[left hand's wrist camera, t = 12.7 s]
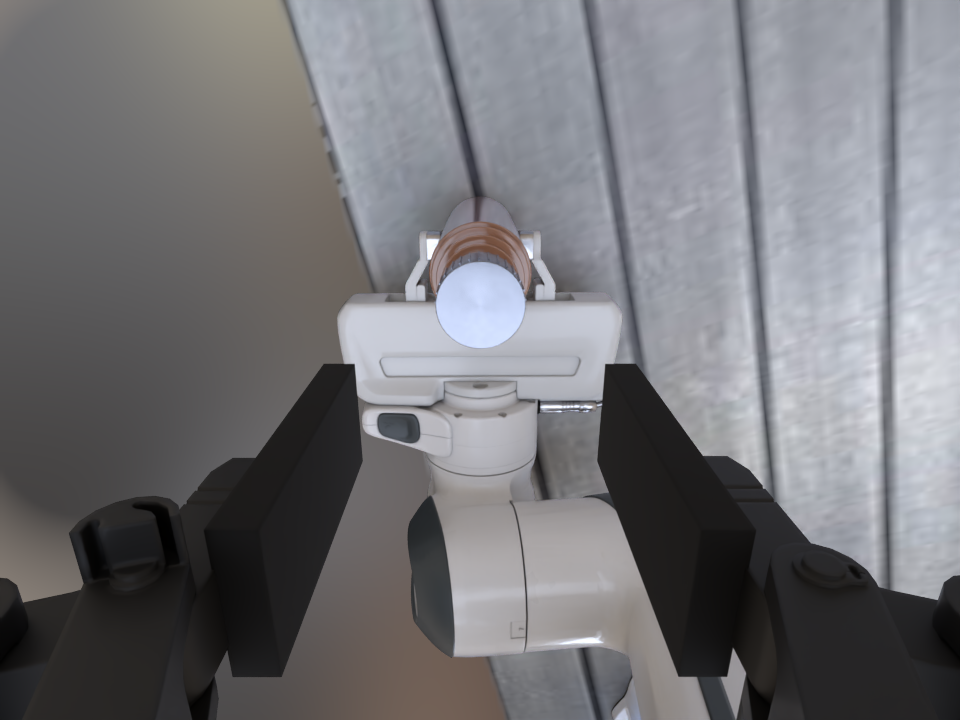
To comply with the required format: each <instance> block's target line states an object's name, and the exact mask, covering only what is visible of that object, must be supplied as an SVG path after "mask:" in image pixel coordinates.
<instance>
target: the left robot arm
mask: <svg viewBox="0 0 960 720" xmlns="http://www.w3.org/2000/svg"><path fill="white" fill-rule="evenodd" d="M362 461H363V460H362V447H361V435H360V422H359V410H358V397H357V385H356V372H355V364H324V365H323V366H322V367H321V369H320V370H319V371H318V373H317V374H316V376H315V377H314V378H313V380H312V381H311V382H310V384H309V385H308V387H307V388H306V389H305V391H304V392H303V394H302V395H301V396H300V398H299V399H298V401H297V402H296V403H295V405H294V406H293V407H292V409H291V410H290V412H289V413H288V414H287V416H286V417H285V418H284V420H283V421H282V423H281V424H280V425H279V427H278V428H277V429H276V431H275V432H274V434H273V435H272V436H271V438H270V439H269V440H268V442H267V443H266V445H265V446H264V447H263V449H262V450H261V452H260V453H259V454H258V456H257V457H256V458H232V459H231V460H229V461H227V462H226V463H224V464H223V465H221V466H220V467H218V468H216V469H215V470H213V471H211V472H210V474H209V475H208V476H207V477H206V479H205V480H204V481H203V482H202V483H201V485H200V486H199V487H198V491H195V492H194V493H193V494H192V495H191V497H190V498H189V499H188V500H187V504H184V505H183V506H182V507H181V509H180V510H179V507H178V505H177V504H176V503H175V502H173V501H172V500H171V499H168V498H163V497H157V496H148V497H135V498H131V499H127V500H123V501H119V502H115V503H113V504H110V505H108V506H106V507H103V508H101V509H98V510H96V511H94V512H93V513H91V514H90V515H88V516H87V517H85V518H84V519H82V520H81V521H79V522H78V523H77V525H76V526H75V527H74V528H73V529H72V530H71V531H70V532H69V535H70V538H71V542H72V545H73V549H74V552H75V555H76V559H77V562H78V566H79V569H80V572H81V576H82V579H83V583H84V584H83V586H82V588H81V590H78V591H75V592H72V593H66V594H62V595H57V596H52V597H48V598H43V599H38V600H33V601H29V602H24V603H23V602H22V599H21V596H20V593H19V590H18V587H17V585H16V584H14V583H13V582H12V581H10V580H9V579H7V578H0V720H216V717H217V708H218V699H219V698H218V692H217V685H216V680H215V676H214V675H215V673H216V671H217V669H218V667H219V665H220V663H221V661H222V659H223V657H224V655H225V653H226V651H228V656H229V661H230V665H231V671H232V676H233V677H282V674H283V672H284V669H285V666H286V664H287V661H288V658H289V656H290V653H291V650H292V648H293V645H294V642H295V640H296V637H297V634H298V632H299V629H300V626H301V624H302V621H303V618H304V616H305V613H306V610H307V608H308V605H309V603H310V600H311V597H312V595H313V592H314V589H315V587H316V584H317V581H318V579H319V576H320V573H321V570H322V568H323V565H324V563H325V560H326V557H327V555H328V552H329V549H330V547H331V544H332V541H333V539H334V536H335V533H336V531H337V528H338V525H339V523H340V520H341V517H342V515H343V512H344V509H345V507H346V504H347V501H348V499H349V496H350V493H351V491H352V488H353V485H354V483H355V480H356V477H357V475H358V472H359V469H360V467H361V464H362ZM597 461H598V464H599V467H600V469H601V472H602V475H603V477H604V480H605V483H606V485H607V488H608V491H609V493H610V496H611V499H612V501H613V504H614V507H615V509H616V512H617V515H618V517H619V520H620V523H621V525H622V528H623V531H624V533H625V536H626V539H627V541H628V544H629V547H630V549H631V552H632V555H633V557H634V560H635V563H636V565H637V568H638V571H639V573H640V576H641V579H642V581H643V584H644V587H645V589H646V592H647V595H648V597H649V600H650V603H651V605H652V608H653V611H654V613H655V616H656V619H657V621H658V624H659V626H660V629H661V632H662V634H663V637H664V640H665V642H666V645H667V648H668V650H669V653H670V656H671V658H672V661H673V664H674V666H675V669H676V672H677V674H678V677H727V676H728V671H729V666H730V661H731V656H732V651H733V648H734V650H735V652H736V654H737V656H738V658H739V660H740V662H741V664H742V666H743V668H744V670H745V672H746V676H745V680H744V685H743V690H742V694H741V699H740V704H739V709H738V713H737V718H736V720H960V575H959V576H953V577H951V578H950V579H948V580H947V581H946V582H944V584H943V587H942V590H941V593H940V596H939V599H938V600H934V599H929V598H925V597H920V596H915V595H910V594H906V593H901V592H896V591H891V590H887V589H884V588H880V587H878V585H877V583H876V582H875V580H874V579H873V578H872V576H871V575H870V574H869V572H868V571H867V570H866V569H865V568H864V567H862V566H861V565H860V564H858V563H857V562H856V561H854V560H853V559H852V558H850V557H848V556H846V555H843V554H841V553H839V552H837V551H835V550H833V549H830V548H826V547H823V546H819V545H816V544H811V543H810V542H809V541H808V539H807V538H806V537H805V536H804V535H803V533H802V532H801V531H800V530H799V529H798V527H797V526H796V525H795V524H794V523H793V521H792V520H791V519H790V518H789V517H788V516H787V514H786V513H785V512H784V511H783V510H782V508H781V507H780V506H779V505H778V504H777V502H774V499H773V498H772V496H771V495H770V494H769V493H768V492H767V490H766V489H763V486H762V484H761V483H760V482H759V481H758V480H757V479H756V477H755V476H754V475H753V474H752V473H751V471H750V470H749V469H747V468H745V467H744V466H742V465H741V464H739V463H737V462H736V461H734V460H733V459H731V458H729V457H728V456H702V454H701V453H700V451H699V450H698V449H697V447H696V446H695V445H694V443H693V442H692V440H691V439H690V438H689V436H688V435H687V434H686V432H685V431H684V429H683V428H682V427H681V425H680V424H679V423H678V421H677V420H676V418H675V417H674V416H673V414H672V413H671V411H670V410H669V409H668V407H667V406H666V405H665V403H664V402H663V400H662V399H661V398H660V396H659V395H658V394H657V392H656V391H655V389H654V388H653V387H652V385H651V384H650V382H649V381H648V380H647V378H646V377H645V376H644V374H643V373H642V371H641V370H640V369H639V367H638V366H637V365H636V364H605V372H604V385H603V397H602V410H601V422H600V435H599V447H598V460H597Z"/></svg>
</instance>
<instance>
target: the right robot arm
mask: <svg viewBox="0 0 960 720" xmlns="http://www.w3.org/2000/svg"><path fill="white" fill-rule="evenodd" d="M518 233H519V235H520V237H521V239H522V242H523V244H524V246H525V248H526V250H527V252H528V255H529V258H530V259H531V261H532V262H533V264H534V266H535V268H536V270H537V272H538V273H539V275H540V277H541V279H540V278H534V279H533V292H527V294H526V310H525V315H524V319H523V321H522V324H521V325H520V327H519V329H518V330H517V332H516V333H515V334H514V335H513V336H512V337H511V338H510V339H508V340H507V341H505V342H504V343H502V344H500V345H498V346H495V347H492V348H486V349H475V348H469V347H466V346H463V345H461V344H459V343H457V342H456V341H454V340H453V339H452V338H450V337H449V336H448V335H447V334H446V333H445V331H444V330H443V329H442V327H441V325H440V323H439V321H438V318H437V314H436V307H435V299H436V297H435V295H434V293H428V283H427V279H420V277H421V275H422V273H423V271H424V269H425V267H426V266H427V264H428V262H429V260H431V257H432V254H433V252H434V249H435V247H436V245H437V243H438V240H439V238H440V236H441V234H442V232H441V231H421V232H420V233H419V249H420V258H419V260H418V261H417V263H416V265H415V267H414V269H413V271H412V273H411V275H410V277H409V279H408V280H407V282H406V284H405V292H406V293H357V294H354V295H352V296H351V297H350V298H349V299H348V300H347V301H346V302H345V303H344V305H343V306H342V307H341V309H340V311H339V313H338V316H337V325H338V334H339V341H340V347H341V352H342V357H343V362H344V364H355V372H356V385H357V396H359V397H360V398H361V399H362V400H364V401H365V404H364V408H363V414H362V425H363V429H364V431H365V432H366V433H367V434H369V435H371V436H374V437H377V438H381V439H384V440H388V441H392V442H396V443H399V444H403V445H406V446H409V447H412V448H415V449H418V450H421V451H424V452H425V455H426V459H427V462H428V464H429V467H430V471H431V481H430V485H429V488H428V493H427V499H426V500H425V501H424V502H423V503H422V505H421V506H420V507H419V509H418V510H417V512H416V513H415V515H414V516H413V518H412V519H411V521H410V523H409V528H408V550H409V557H410V563H411V568H412V579H411V604H412V613H413V619H414V622H415V623H416V625H417V626H418V627H419V628H420V630H421V631H422V632H423V633H424V634H425V636H426V637H427V638H428V639H429V640H430V641H431V642H432V643H433V644H434V645H435V646H436V647H437V648H438V649H439V650H440V651H442V652H443V653H445V654H446V655H448V656H449V657H451V658H452V657H482V656H498V655H510V654H522V653H523V652H533V651H545V650H558V649H570V648H583V647H602V648H607V649H611V650H615V651H618V652H620V653H622V654H624V655H626V656H627V657H628V658H629V660H630V665H631V670H632V675H633V677H632V679H631V681H630V684H629V687H628V690H627V693H626V695H625V697H624V698H623V699H622V700H621V701H620V702H619V703H618V704H617V705H616V706H615V708H614V709H613V711H612V717H613V720H736V718H737V713H738V709H739V704H740V699H741V694H742V690H743V685H744V680H745V676H746V672H745V670H744V668H743V666H742V664H741V662H740V660H739V658H738V656H737V654H736V652H735V650H734V648H733V651H732V656H731V661H730V666H729V671H728V676H727V677H678V674H677V672H676V669H675V666H674V664H673V661H672V658H671V656H670V653H669V650H668V648H667V645H666V642H665V640H664V637H663V634H662V632H661V629H660V626H659V624H658V621H657V619H656V616H655V613H654V611H653V608H652V605H651V603H650V600H649V597H648V595H647V592H646V589H645V587H644V584H643V581H642V579H641V576H640V573H639V571H638V568H637V565H636V563H635V560H634V557H633V555H632V552H631V549H630V547H629V544H628V541H627V539H626V536H625V533H624V531H623V528H622V525H621V523H620V520H619V517H618V515H617V512H616V509H615V507H614V504H613V501H612V499H611V496H610V493H603V494H596V495H589V496H585V497H583V498H570V499H553V500H535V493H534V488H533V485H532V482H531V469H532V466H533V464H534V461H535V457H536V446H537V414H539V413H562V412H563V413H564V412H569V411H570V412H579V413H590V412H595V411H596V408H598V407H602V401H600V402H597V403H596V400H602V397H603V385H604V372H605V364H615V363H614V362H615V358H616V354H617V350H618V345H619V339H620V334H621V327H622V312H621V309H620V307H619V306H618V305H617V303H616V302H615V301H614V300H613V299H612V298H611V297H610V296H609V295H608V294H606V293H604V292H555V286H556V284H555V282H554V280H553V278H552V277H551V275H550V273H549V271H548V269H547V267H546V265H545V264H544V262H543V260H542V258H541V232H540V231H539V230H526V231H519V232H518ZM419 279H420V280H419ZM538 399H539V401H538Z"/></svg>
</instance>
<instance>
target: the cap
mask: <svg viewBox="0 0 960 720" xmlns="http://www.w3.org/2000/svg"><path fill="white" fill-rule="evenodd" d="M524 291H525V289H524V286H523V283H522V281H521V279H520V276H519V273H517V272H516V271H515V269H514V266H513V265H512V266H511V265H510V264H509V263H508V262H507V260H506V259H505V260H504V259H503V258H501V257H499V255H494V254H491V253H489V252H487V253H485V252H480V251H478V252H476V253H469V254H467V255H464V256H460V258H458V259H457V260H455V261H452V264H451V265H450V266H449V267H448V268H447V267H446V269H445V273H444V274H443V275H441V278H440V281H439V284H438V287H437V290H436V294H437V295H436V299H435V307H436V314H437V318H438V321H439V323H440V325H441V327H442V329H443V330H444V331H445V333H446V334H447V335H448V336H449V337H450V338H452V339H453V340H454V341H456V342H457V343H459V344H461V345H463V346H466V347H469V348H475V349H486V348H492V347H495V346H498V345H500V344H502V343H504V342H505V341H507V340H508V339H510V338H511V337H512V336H513V335H514V334H515V333H516V332H517V330H518V329H519V327H520V325H521V324H522V321H523V319H524V315H525V310H526V296H525V293H524Z"/></svg>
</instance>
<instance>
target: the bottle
mask: <svg viewBox="0 0 960 720" xmlns="http://www.w3.org/2000/svg"><path fill="white" fill-rule="evenodd" d="M478 251H480V252H485V253H487V252H489V253H491V254H494V255H499V257H501V258H503V259H504V260H505V259H506V260H507V262H508V263H509V264H510V265H511V266H512V265H513V266H514V269H515V271H516V272H517V273H519V276H520V279H521V281H522V283H523V286H524V289H525V291H524V293H525V296H526V294H527V292H528V290H529V287H530V283H531V276H532V269H531V262H530V258H529V255H528V252H527V250H526V248H525V246H524V244H523V242H522V239H521V237H520V235H519V233H518V231H517V229H516V226H515V224H514V222H513V220H512V218H511V216H510V214H509V212H508V211H507V209H506V208H505V207H504V206H503V205H502V204H501V203H499V202H498V201H496V200H494V199H491V198H488V197H480V196H479V197H472V198H469V199H466V200H464V201H462V202H461V203H460V204H458V205H457V206H456V207H455V208H454V209H453V211H452V212H451V214H450V216H449V218H448V220H447V222H446V225H445V227H444V229H443V231H442V234H441V236H440V238H439V240H438V243H437V245H436V247H435V249H434V252H433V254H432V257H431V260H430V266H429V279H430V284H431V288H432V291H433V293H434V295H435V297H436V295H437V294H436V290H437V287H438V284H439V281H440V278H441V275H443V274H444V273H445V269H446V267H447V268H448V267H449V266H450V265H451V264H452V261H455V260H457V259H458V258H460V256H464V255H467V254H469V253H476V252H478Z"/></svg>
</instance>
